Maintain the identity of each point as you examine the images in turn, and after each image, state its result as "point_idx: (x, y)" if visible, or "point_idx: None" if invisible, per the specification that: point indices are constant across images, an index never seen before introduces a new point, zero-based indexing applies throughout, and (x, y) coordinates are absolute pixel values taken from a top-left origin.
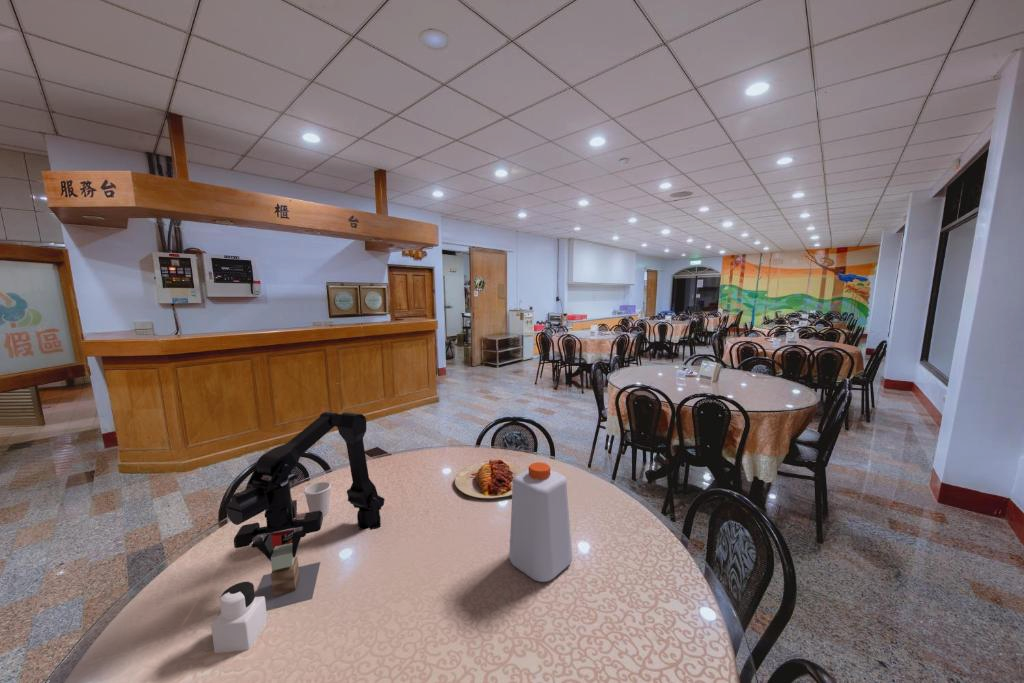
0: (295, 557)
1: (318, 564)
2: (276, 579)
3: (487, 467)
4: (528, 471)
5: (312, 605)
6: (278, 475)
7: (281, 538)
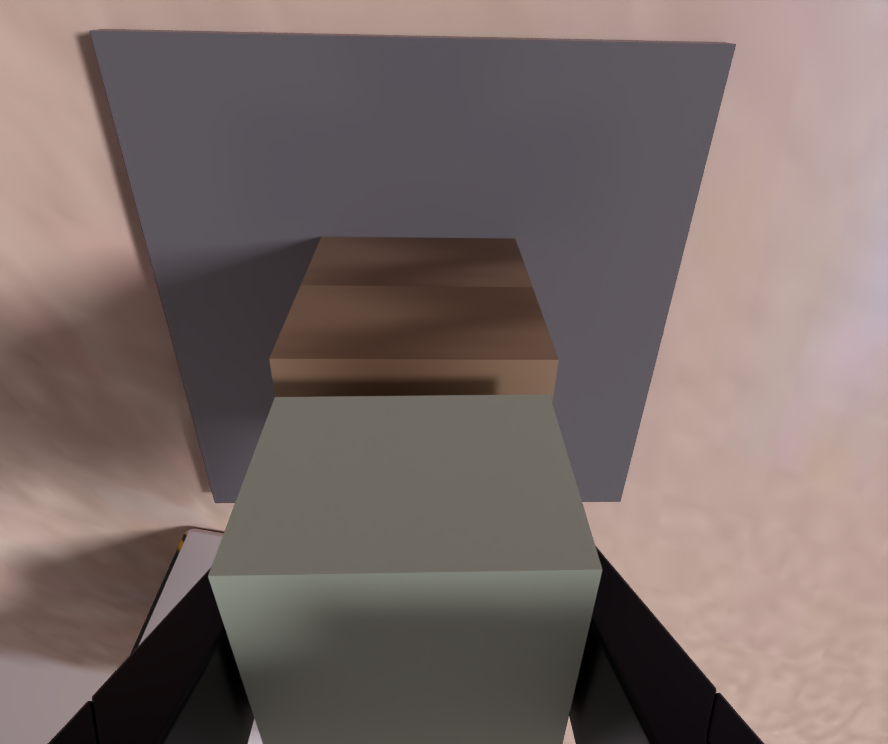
0: (533, 372)
1: (707, 93)
2: None
3: None
4: None
5: (614, 518)
6: None
7: None
